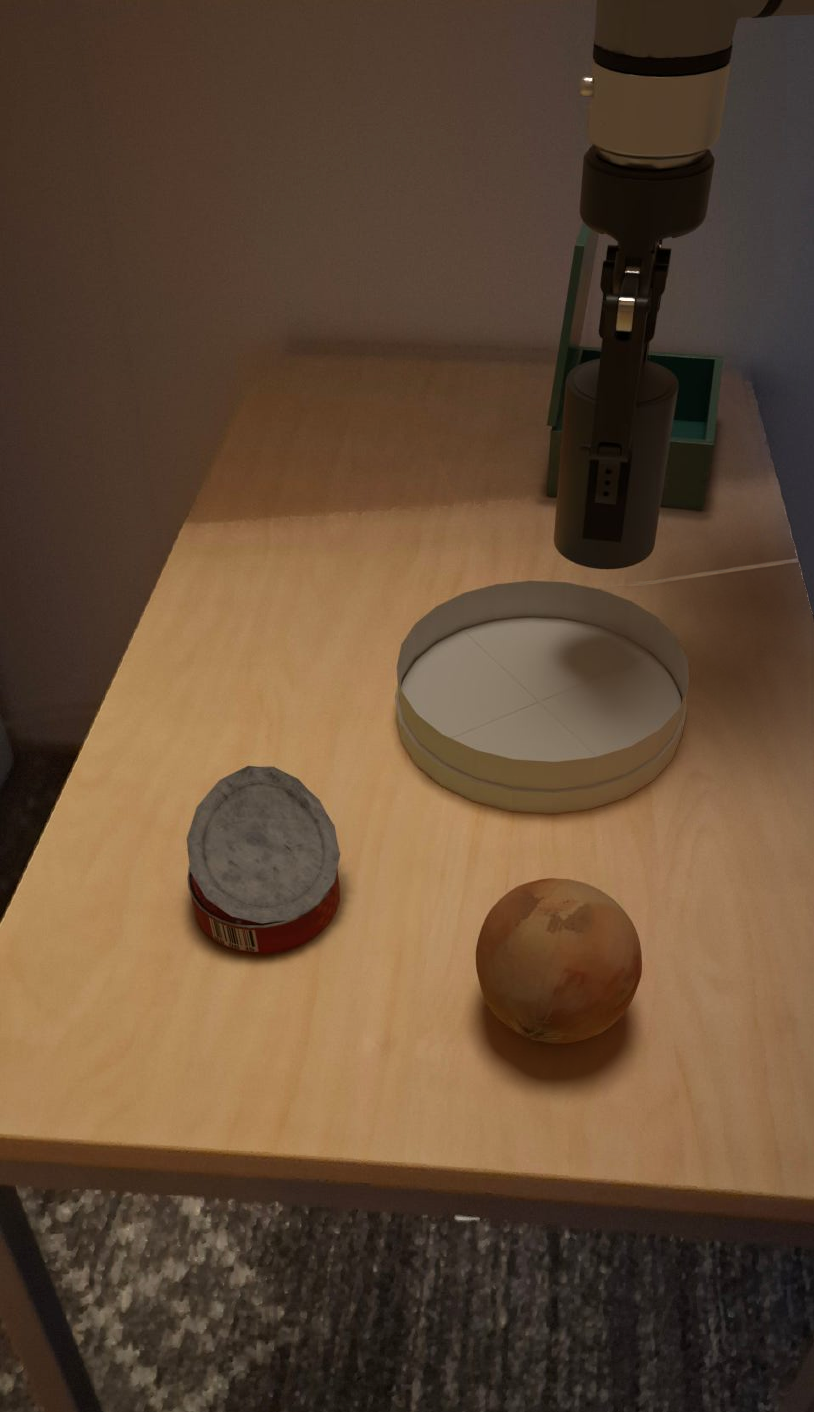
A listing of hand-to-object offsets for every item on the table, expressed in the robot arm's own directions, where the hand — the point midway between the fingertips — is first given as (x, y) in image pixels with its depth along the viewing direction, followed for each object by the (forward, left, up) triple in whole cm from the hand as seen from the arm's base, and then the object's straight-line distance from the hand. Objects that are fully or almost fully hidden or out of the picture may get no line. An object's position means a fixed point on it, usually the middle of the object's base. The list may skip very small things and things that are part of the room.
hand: (608, 507), depth 84 cm
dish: (+6, +5, -14) cm, 16 cm away
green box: (-14, -30, -14) cm, 36 cm away
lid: (-8, -33, +1) cm, 34 cm away
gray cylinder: (0, 0, -3) cm, 3 cm away
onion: (+13, +32, -14) cm, 37 cm away
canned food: (+29, +19, -14) cm, 37 cm away
